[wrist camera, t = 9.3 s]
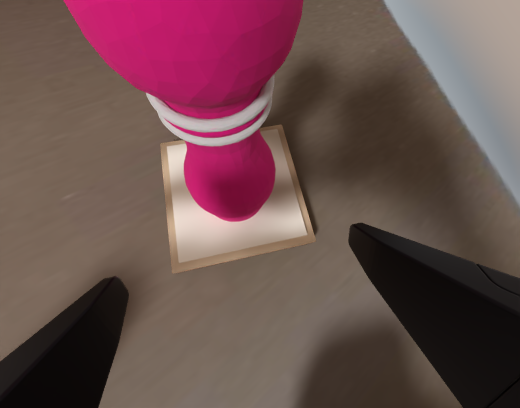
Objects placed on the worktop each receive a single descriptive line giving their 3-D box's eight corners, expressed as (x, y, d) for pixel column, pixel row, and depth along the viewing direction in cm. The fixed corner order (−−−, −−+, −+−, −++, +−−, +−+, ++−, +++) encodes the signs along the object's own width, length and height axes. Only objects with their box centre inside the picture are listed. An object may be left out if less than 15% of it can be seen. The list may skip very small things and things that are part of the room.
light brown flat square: (311, 242, 21) (317, 240, 20) (178, 272, 20) (170, 273, 18) (279, 132, 25) (282, 122, 23) (166, 151, 24) (158, 141, 22)
